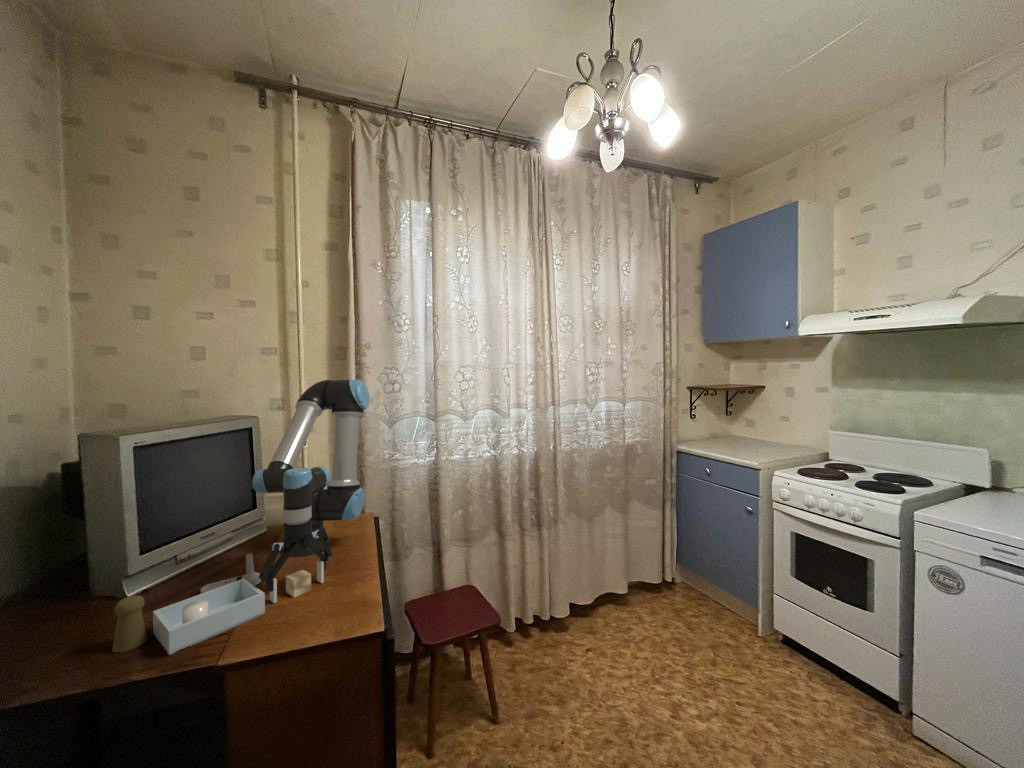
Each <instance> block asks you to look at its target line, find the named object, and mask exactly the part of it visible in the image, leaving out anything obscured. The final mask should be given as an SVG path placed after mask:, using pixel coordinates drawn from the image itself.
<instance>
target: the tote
mask: <svg viewBox="0 0 1024 768" xmlns="http://www.w3.org/2000/svg"><path fill="white" fill-rule="evenodd" d="M199 600H207V601H208V614H207V615H205V616H202V617H200V618H197V619H195V620H192V621H190V622H187V623H185V624H182V608H183V607H184V606H186V605H187V604H189V603H192V602H195V601H199ZM265 614H266V593H265V592H264V591H262V590H261V589H259V587H256V585H255V586H254V585H253V584H251V583H250V582H248V581H247V580H245V579H241V580H238V581H236V582H233V583H230V584H227V585H225V586H222V587H219V588H216V589H213V590H211V591H208V592H205V593H202V594H198V595H197V594H196V595H195V596H192V597H189V598H186V599H184V600H180V601H178V602H175V603H172V604H169V605H166V606H163V607H162V608H158V609H156V610H152V632H153V633H152V634H153V635H154V636H155V638H156V639H157V641H158V642H159V643H161V644H160V646H161V647H162V648H163V647H164V648H163V649H164V651H165V650H166V651H167V652H166V651H165V652H166V653H167V655H168V654H169V655H171V654H173V653H175V652H177V651H179V650H181V649H184V648H186V647H189V646H191V647H193V646H195V645H197V643H198V644H199V643H202V642H204V641H206V640H209V639H211V638H214V637H216V636H218V635H220V634H222V633H225V632H227V631H229V630H231V629H234V628H236V627H239V626H241V625H242V624H246V623H247V622H250V621H252V620H254V619H256V618H258V617H261V616H263V615H265ZM194 644H195V645H194ZM192 645H193V646H192ZM189 648H190V647H189ZM186 649H187V648H186ZM184 650H185V649H184ZM177 653H178V652H177ZM175 654H176V653H175ZM169 655H168V656H169ZM173 655H174V654H173ZM171 656H172V655H171Z"/></svg>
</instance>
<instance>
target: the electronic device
mask: <svg viewBox="0 0 1024 768" xmlns="http://www.w3.org/2000/svg"><path fill="white" fill-rule="evenodd" d="M253 554H254V553H253V552H249V553H248V552H247V554H245V563H246V564H245V571H246V572H245V574H242V575H237V576H235V577H231V578H227V579H221V580H218V581H215V582H210V583H207V584H205V585H204V586H201V588H200V589H199V590H200V594H202V593H205V592H208V591H211V590H213V589H216V588H219V587H222V586H225V585H227V584H230V583H233V582H236V581H238V580H241V579H245V580H247V581H248V582H250V583H251V584H253V585H254V586H255V587H256V586H257V585H259V584H260V583H261V581H262V580H260V579H259V575H260V573H261V572H256V571H255V570H254V569H255V566H254V565H255V564H254V556H253ZM200 594H199V595H200Z"/></svg>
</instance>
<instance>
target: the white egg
mask: <svg viewBox="0 0 1024 768" xmlns="http://www.w3.org/2000/svg"><path fill="white" fill-rule="evenodd" d="M207 614H208V601H207V600H199V601H195V602H192V603H189V604H187V605H186V606H184V607H183V608H182V624H185V623H187V622H190V621H192V620H195V619H197V618H200V617H202V616H205V615H207Z"/></svg>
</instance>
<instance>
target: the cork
mask: <svg viewBox="0 0 1024 768" xmlns="http://www.w3.org/2000/svg"><path fill="white" fill-rule="evenodd" d="M144 606H145V599H144V597H143V596H142V595H131V596H128V597H124V598H122V599H121V600H119V601H118V602H117V603H116V604H115V606H114V611H113V612H114V614H115V616H116V617H117V620H116V624H115V632H114V637H113V643H112V649H111V650H112V653H115V652H116V653H117V652H120V653H125V652H128V651H132V650H133V649H134V650H135V649H136V648H138V647H140V646H142V645H143V644H145V643H146V641H147V640H148V636H147V630H146V625H145V621H144V615H143V610H142V609H143V607H144ZM141 644H142V645H141ZM131 649H132V650H131ZM117 654H118V653H117Z"/></svg>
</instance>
